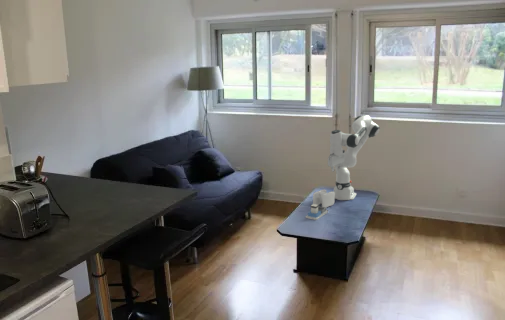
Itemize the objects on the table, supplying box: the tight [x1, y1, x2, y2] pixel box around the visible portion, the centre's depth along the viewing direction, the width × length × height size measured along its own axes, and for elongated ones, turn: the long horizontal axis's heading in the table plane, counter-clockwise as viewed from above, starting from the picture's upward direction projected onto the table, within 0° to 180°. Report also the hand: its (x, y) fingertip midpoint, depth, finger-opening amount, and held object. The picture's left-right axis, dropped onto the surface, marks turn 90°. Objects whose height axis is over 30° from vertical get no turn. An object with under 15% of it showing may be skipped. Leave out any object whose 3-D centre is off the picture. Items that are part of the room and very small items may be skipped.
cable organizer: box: [312, 189, 336, 209], centre depth 361 cm, size 15×11×12 cm
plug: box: [310, 203, 319, 214], centre depth 338 cm, size 4×4×8 cm
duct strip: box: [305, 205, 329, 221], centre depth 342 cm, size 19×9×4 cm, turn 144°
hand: (336, 170), depth 340 cm, fingers open, 8 cm apart
